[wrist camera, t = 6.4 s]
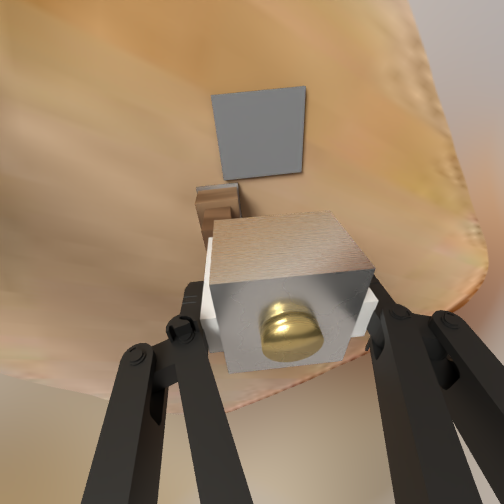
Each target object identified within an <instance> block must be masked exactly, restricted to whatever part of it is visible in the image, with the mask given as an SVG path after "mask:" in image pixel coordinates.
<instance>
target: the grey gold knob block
mask: <svg viewBox="0 0 504 504" xmlns="http://www.w3.org/2000/svg"><path fill="white" fill-rule="evenodd" d="M375 269H376V268H375V267H374V266H373V264H372V263H371V262H370V261H369V259H368V258H367V257H366V256H365V254H364V253H363V252H362V251H361V249H360V248H359V247H358V245H357V244H356V243H355V242H354V240H353V239H352V238H351V237H350V235H349V234H348V233H347V232H346V230H345V229H344V228H343V226H342V225H341V224H340V223H339V221H338V220H337V219H336V218H335V216H334V215H333V214H332V213H331V211H330V210H329V211H317V212H306V213H294V214H283V215H271V216H259V217H248V218H236V219H225V220H214V228H213V240H212V252H211V265H210V277H209V288H210V292H211V297H212V301H213V306H214V310H215V314H216V319H217V323H218V328H219V332H220V337H221V341H222V346H223V350H224V355H225V359H226V363H227V368H228V372H229V374H231V373H240V372H249V371H257V370H266V369H275V368H283V367H292V366H301V365H309V364H318V363H327V362H335V361H342V360H343V357H344V355H345V352H346V349H347V346H348V343H349V341H350V338H351V335H352V332H353V330H354V327H355V324H356V321H357V318H358V316H359V313H360V310H361V307H362V305H363V302H364V299H365V296H366V294H367V291H368V288H369V285H370V282H371V280H372V277H373V274H374V271H375Z"/></svg>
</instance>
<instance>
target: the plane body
mask: <svg viewBox="0 0 504 504" xmlns="http://www.w3.org/2000/svg"><path fill="white" fill-rule="evenodd" d="M196 190H197V198H196V202H195V206H196V210H197V214H198V218H199V222H200V226H201V230H202V231H201V232H202V236H203V240H204V244H205V248H206V251H207V249H208V240H209V238H210V237H213V228H214V220H225V219H236V218H242V216H241V207H240V199H239V190H238V183H229V184H220V185H211V186H202V187H196Z"/></svg>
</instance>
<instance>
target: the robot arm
mask: <svg viewBox="0 0 504 504" xmlns="http://www.w3.org/2000/svg"><path fill="white" fill-rule="evenodd" d="M212 240H213V237H210V238H209V240H208V249H207V258H206V268H205V277H204V281H199V282H190V283H189V284H188V286H187V287H186V289H185V292H184V298H183V302H182V307H181V312H180V315H177V316H175V317H174V318H172V319H171V320H170V321H169V323H168V324H167V326H166V333H167V335H168V338H169V339H167V340H166V341H164V342H161V343H159V344H156V345H154V346H150V345H149V344H146V343H139V344H136V345H134V346H132V347H131V348H129V349H128V350H127V351H126V352H125V353H124V354H123V356H122V359H121V361H120V365H119V368H118V372H117V375H116V379H115V383H114V386H113V390H112V393H111V397H110V401H109V404H108V408H107V411H106V415H105V419H104V423H103V426H102V429H101V433H100V437H99V440H98V444H97V447H96V451H95V455H94V458H93V462H92V465H91V469H90V473H89V476H88V480H87V483H86V487H85V491H84V494H83V498H82V501H81V504H157V501H158V489H159V480H160V469H161V460H162V449H163V439H164V429H165V419H166V408H167V398H168V388H169V386H170V385H172V384H175V383H177V382H178V384H179V389H180V395H181V400H182V406H183V411H184V417H185V422H186V427H187V433H188V438H189V443H190V449H191V454H192V460H193V465H194V471H195V476H196V482H197V487H198V492H199V498H200V503H201V504H253V501H252V498H251V495H250V491H249V488H248V485H247V482H246V478H245V475H244V472H243V469H242V466H241V463H240V459H239V456H238V453H237V449H236V446H235V443H234V440H233V437H232V434H231V430H230V427H229V424H228V420H227V417H226V414H225V411H224V408H223V404H222V401H221V398H220V395H219V391H218V388H217V385H216V382H215V379H214V375H213V372H212V369H211V366H210V362H209V359H208V349H209V352H210V353H214V352H223V351H224V350H223V346H222V341H221V337H220V332H219V328H218V323H217V319H216V314H215V310H214V306H213V301H212V297H211V292H210V288H209V277H210V265H211V252H212ZM366 330H368V332H369V334H370V338H369V340H368V343H367V345H366V348H365V351H368V349H369V347H370V352H371V358H372V364H373V370H374V376H375V382H376V389H377V395H378V401H379V407H380V413H381V419H382V425H383V431H384V437H385V443H386V449H387V455H388V462H389V468H390V474H391V480H392V485H393V492H394V498H395V504H483V503H482V500H481V498H480V495H479V492H478V490H477V487H476V484H475V482H474V479H473V476H472V473H471V470H470V468H469V465H468V463H467V460H466V457H465V454H464V451H463V449H462V446H461V443H460V441H459V438H458V435H457V432H456V430H455V427H454V424H455V426H456V428H457V429H458V431H459V433H460V434H461V436H462V438H463V440H464V441H465V443H466V445H467V446H468V448H469V450H470V452H471V453H472V455H473V457H474V459H475V460H476V462H477V464H478V465H479V467H480V469H481V470H482V472H483V474H484V476H485V478H486V479H487V481H488V483H489V484H490V486H491V488H492V489H493V491H494V493H495V495H496V497H497V498H498V500H499V501H500V503H501V504H504V366H503V365H502V364H501V362H500V361H499V360H498V359H497V358H496V357H495V355H494V354H493V353H492V352H491V351H490V350H489V349H488V347H487V346H486V345H485V344H484V343H483V342H482V340H481V339H480V338H479V337H478V336H477V335H476V334H475V332H474V331H473V330H472V329H471V328H470V327H469V325H468V324H467V323H466V322H465V321H464V320H463V319H462V318H460V317H459V316H457V315H456V314H454V313H451V312H448V311H443V310H440V311H436V312H435V313H434V314H433V315H432V316H425V315H419V314H414V313H412V312H411V311H410V310H409V309H407V308H406V307H404V306H402V305H400V304H396V303H395V302H394V300H393V299H392V298H391V296H390V295H389V294H388V292H387V291H386V290H385V289H384V287H383V286H382V285H381V284H380V282H379V281H378V279H377V278H376V277H375V275H374V274H373V277H372V280H371V282H370V285H369V288H368V291H367V294H366V296H365V299H364V302H363V305H362V307H361V310H360V313H359V316H358V318H357V321H356V324H355V327H354V330H353V332H352V335H351V337H358V336H364V335H365V332H366ZM453 422H454V424H453Z"/></svg>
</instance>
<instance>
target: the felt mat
mask: <svg viewBox="0 0 504 504" xmlns="http://www.w3.org/2000/svg"><path fill="white" fill-rule="evenodd" d="M305 91H306V86H300V87H290V88H280V89H270V90H259V91H249V92H239V93H229V94H219V95H211V99H212V106H213V112H214V119H215V126H216V132H217V139H218V145H219V152H220V158H221V165H222V171H223V178H224V180H232V179H241V178H251V177H260V176H269V175H278V174H287V173H297V172H301V170H302V150H303V131H304V111H305Z"/></svg>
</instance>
